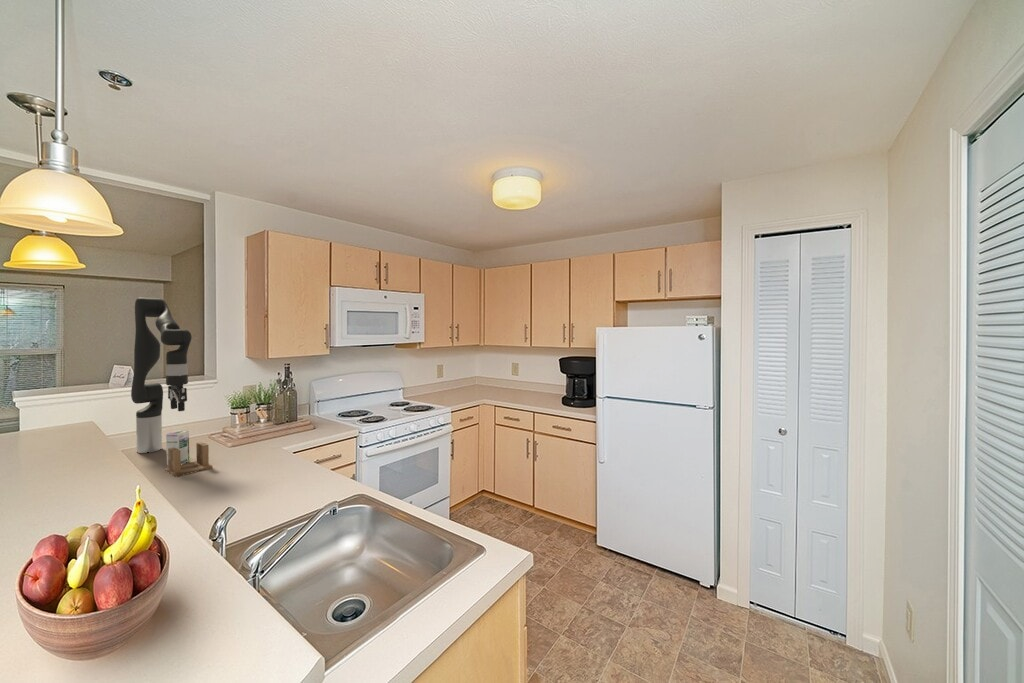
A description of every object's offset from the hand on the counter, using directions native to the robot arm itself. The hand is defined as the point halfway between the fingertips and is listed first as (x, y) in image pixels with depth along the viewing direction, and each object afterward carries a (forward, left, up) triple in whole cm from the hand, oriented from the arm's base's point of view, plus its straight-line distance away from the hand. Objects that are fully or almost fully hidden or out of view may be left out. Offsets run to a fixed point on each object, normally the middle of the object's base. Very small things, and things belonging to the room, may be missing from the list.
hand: (177, 409), depth 178 cm
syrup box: (0, 0, -25) cm, 25 cm away
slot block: (+12, 0, -25) cm, 27 cm away
